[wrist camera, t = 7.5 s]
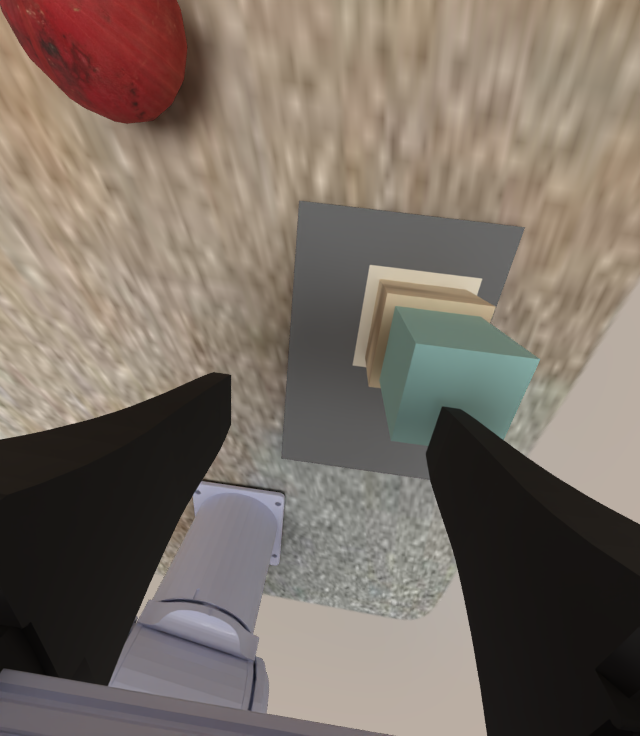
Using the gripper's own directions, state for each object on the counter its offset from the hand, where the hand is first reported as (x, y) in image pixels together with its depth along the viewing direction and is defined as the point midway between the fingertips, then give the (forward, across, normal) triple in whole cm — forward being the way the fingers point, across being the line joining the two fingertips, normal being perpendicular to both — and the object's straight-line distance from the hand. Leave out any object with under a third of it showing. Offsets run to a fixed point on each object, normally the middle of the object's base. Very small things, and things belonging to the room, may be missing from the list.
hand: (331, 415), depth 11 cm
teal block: (+6, -4, -1) cm, 7 cm away
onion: (+10, +11, -12) cm, 19 cm away
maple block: (+10, -4, -1) cm, 11 cm away
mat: (+10, -3, +2) cm, 11 cm away
